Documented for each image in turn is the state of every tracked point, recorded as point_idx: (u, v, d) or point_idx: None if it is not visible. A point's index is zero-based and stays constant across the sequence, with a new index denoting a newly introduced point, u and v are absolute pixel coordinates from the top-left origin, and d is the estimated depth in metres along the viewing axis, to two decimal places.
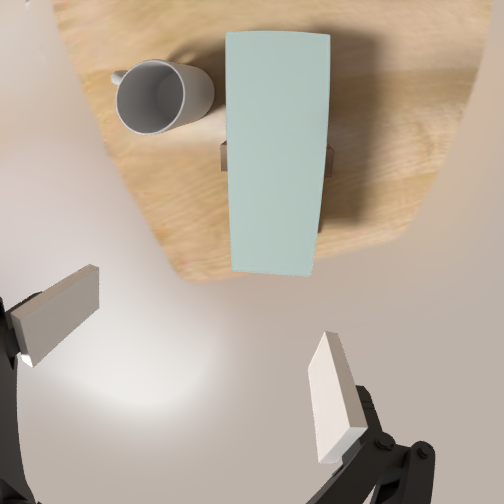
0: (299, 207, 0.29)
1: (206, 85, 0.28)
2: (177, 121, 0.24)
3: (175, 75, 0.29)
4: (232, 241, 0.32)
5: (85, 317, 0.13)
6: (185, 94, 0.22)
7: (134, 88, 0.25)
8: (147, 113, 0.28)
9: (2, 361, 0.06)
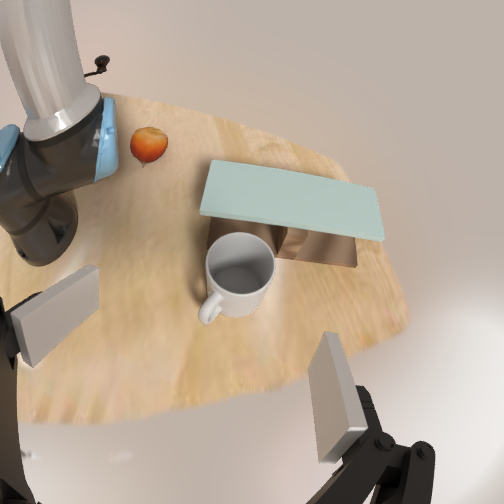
0: (328, 188, 0.42)
1: None
2: None
3: None
4: (361, 232, 0.38)
5: (85, 317, 0.13)
6: None
7: None
8: None
9: (2, 361, 0.06)
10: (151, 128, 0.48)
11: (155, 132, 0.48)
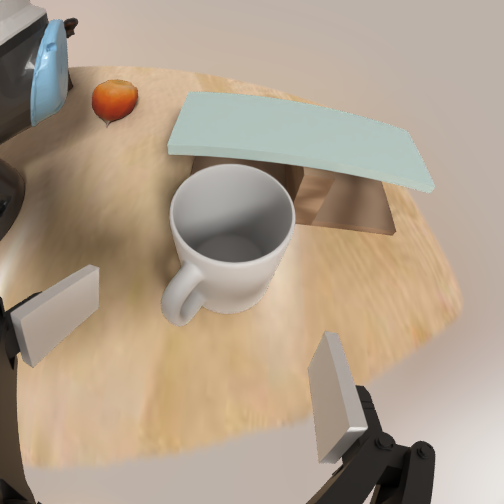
0: (351, 122, 0.27)
1: None
2: None
3: None
4: (406, 177, 0.24)
5: (85, 317, 0.13)
6: (239, 164, 0.20)
7: None
8: None
9: (2, 361, 0.06)
10: (118, 80, 0.34)
11: (122, 83, 0.33)
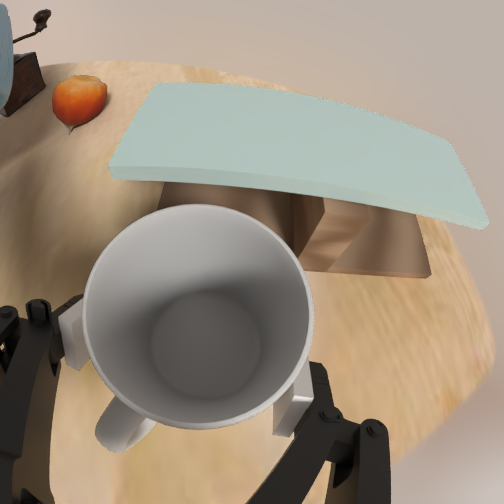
0: (386, 128, 0.18)
1: None
2: None
3: (161, 352, 0.17)
4: (460, 211, 0.15)
5: None
6: None
7: (158, 397, 0.10)
8: (237, 395, 0.12)
9: (43, 368, 0.07)
10: (83, 75, 0.25)
11: (87, 78, 0.24)
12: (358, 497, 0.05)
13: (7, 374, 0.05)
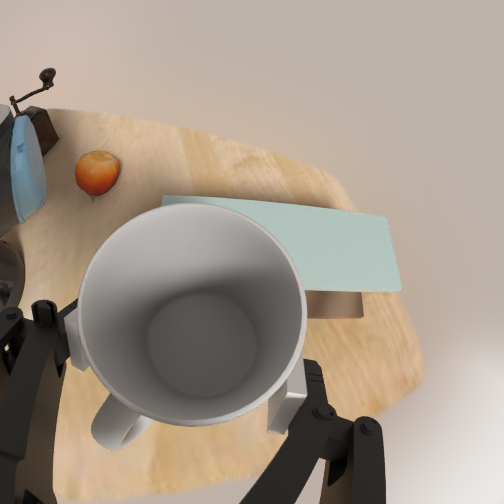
0: (325, 223, 0.31)
1: None
2: None
3: (158, 351, 0.17)
4: (371, 286, 0.28)
5: None
6: (205, 203, 0.11)
7: (153, 394, 0.10)
8: (232, 394, 0.12)
9: (48, 370, 0.07)
10: (98, 152, 0.37)
11: (102, 157, 0.37)
12: (353, 495, 0.05)
13: (11, 375, 0.05)
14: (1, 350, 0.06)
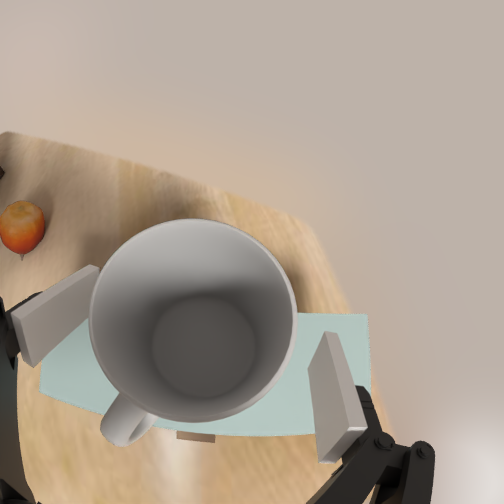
0: None
1: None
2: None
3: (162, 354, 0.18)
4: None
5: (85, 317, 0.13)
6: (204, 219, 0.12)
7: (158, 394, 0.11)
8: (232, 394, 0.13)
9: (2, 361, 0.06)
10: (20, 204, 0.27)
11: (22, 212, 0.26)
12: None
13: None
14: None
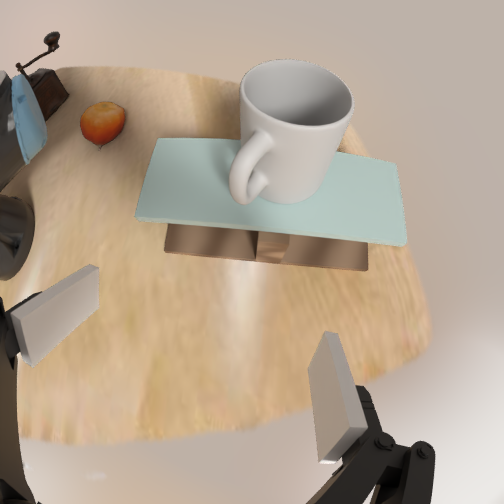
0: None
1: None
2: None
3: None
4: (371, 236, 0.25)
5: (85, 317, 0.13)
6: (299, 60, 0.18)
7: None
8: None
9: (2, 361, 0.06)
10: (103, 103, 0.35)
11: (106, 107, 0.34)
12: None
13: None
14: None
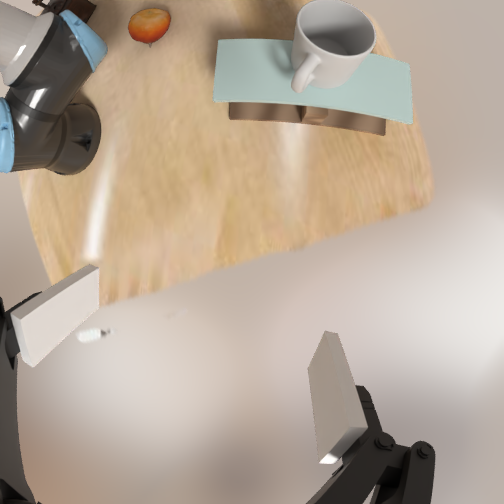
0: None
1: None
2: None
3: None
4: (386, 115, 0.30)
5: (85, 317, 0.13)
6: None
7: None
8: None
9: (2, 361, 0.06)
10: (147, 10, 0.30)
11: (152, 14, 0.30)
12: None
13: None
14: None
